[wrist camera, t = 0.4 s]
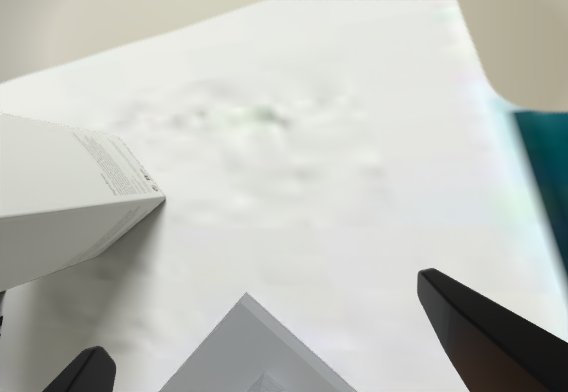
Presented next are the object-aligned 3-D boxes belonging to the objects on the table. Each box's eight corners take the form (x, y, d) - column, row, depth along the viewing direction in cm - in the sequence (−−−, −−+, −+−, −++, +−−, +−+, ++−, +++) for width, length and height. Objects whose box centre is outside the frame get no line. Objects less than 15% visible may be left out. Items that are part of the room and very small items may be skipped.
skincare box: (122, 135, 24) (-236, 40, 8) (173, 201, 23) (-99, 232, 8) (47, 200, 24) (-410, 225, 9) (95, 265, 24) (-289, 404, 9)
